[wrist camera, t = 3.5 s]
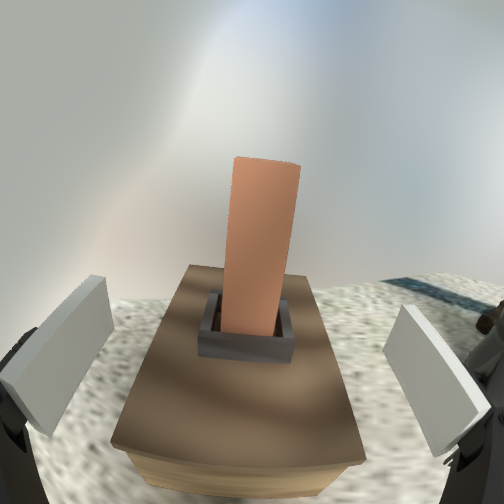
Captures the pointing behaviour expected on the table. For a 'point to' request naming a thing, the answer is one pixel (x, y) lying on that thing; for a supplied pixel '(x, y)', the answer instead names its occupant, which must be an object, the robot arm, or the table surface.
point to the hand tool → (490, 319)
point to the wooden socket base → (239, 400)
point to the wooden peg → (257, 243)
